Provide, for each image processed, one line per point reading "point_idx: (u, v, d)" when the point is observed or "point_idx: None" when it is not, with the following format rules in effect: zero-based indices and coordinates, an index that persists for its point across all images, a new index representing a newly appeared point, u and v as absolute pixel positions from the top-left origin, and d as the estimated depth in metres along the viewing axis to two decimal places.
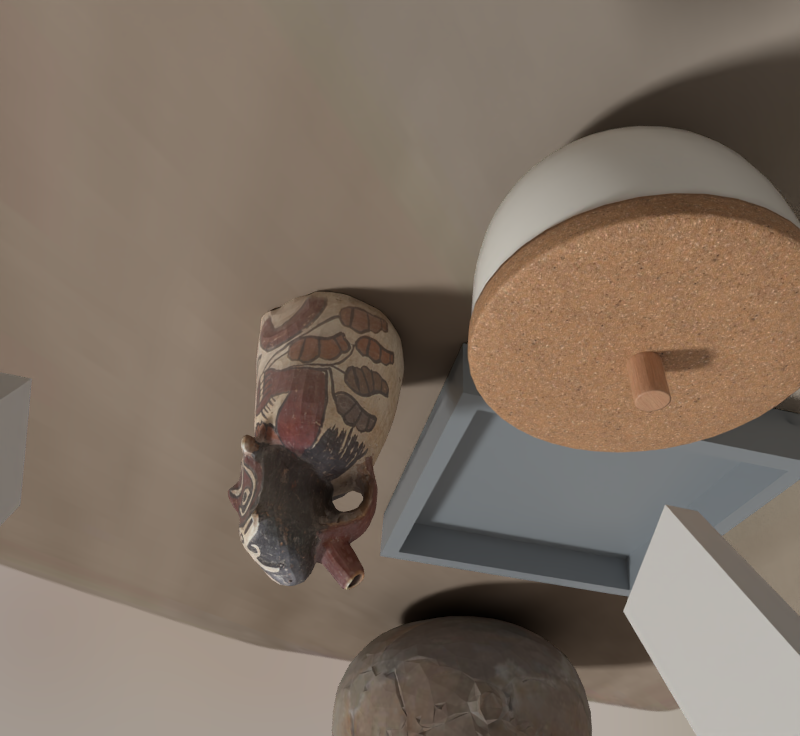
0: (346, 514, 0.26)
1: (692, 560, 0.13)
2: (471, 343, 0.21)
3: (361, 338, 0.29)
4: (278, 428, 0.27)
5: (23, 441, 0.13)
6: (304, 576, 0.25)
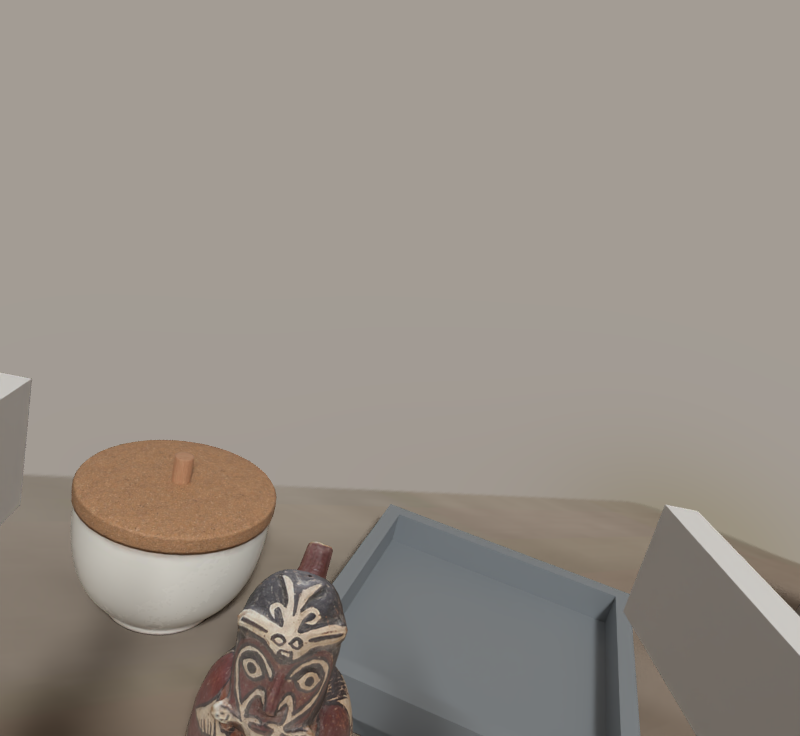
0: None
1: (692, 560, 0.13)
2: (133, 531, 0.32)
3: None
4: (216, 693, 0.25)
5: (23, 441, 0.13)
6: (314, 574, 0.26)
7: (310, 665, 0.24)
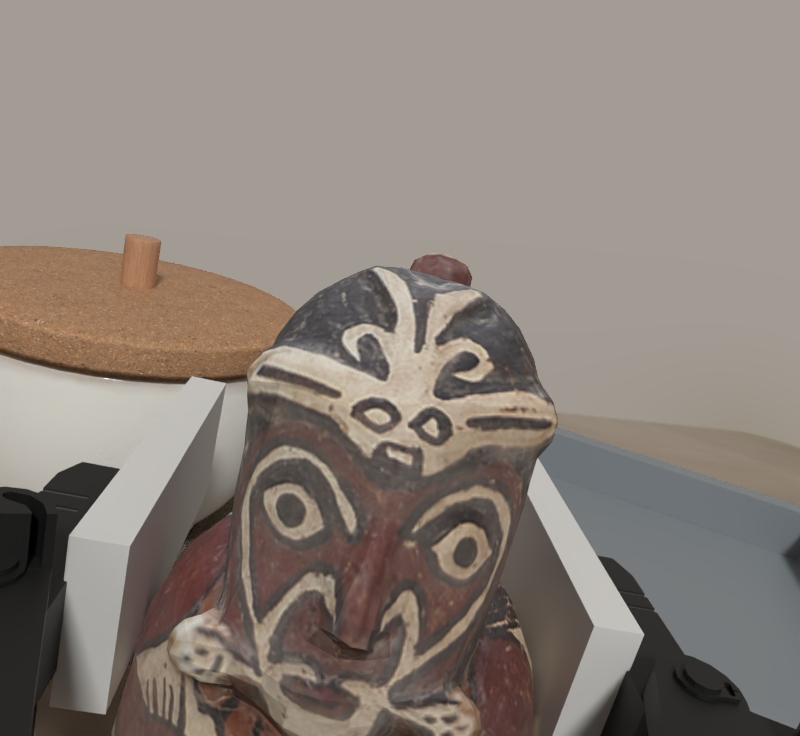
0: None
1: None
2: (31, 324, 0.16)
3: None
4: (187, 608, 0.09)
5: (216, 436, 0.15)
6: None
7: (468, 502, 0.08)
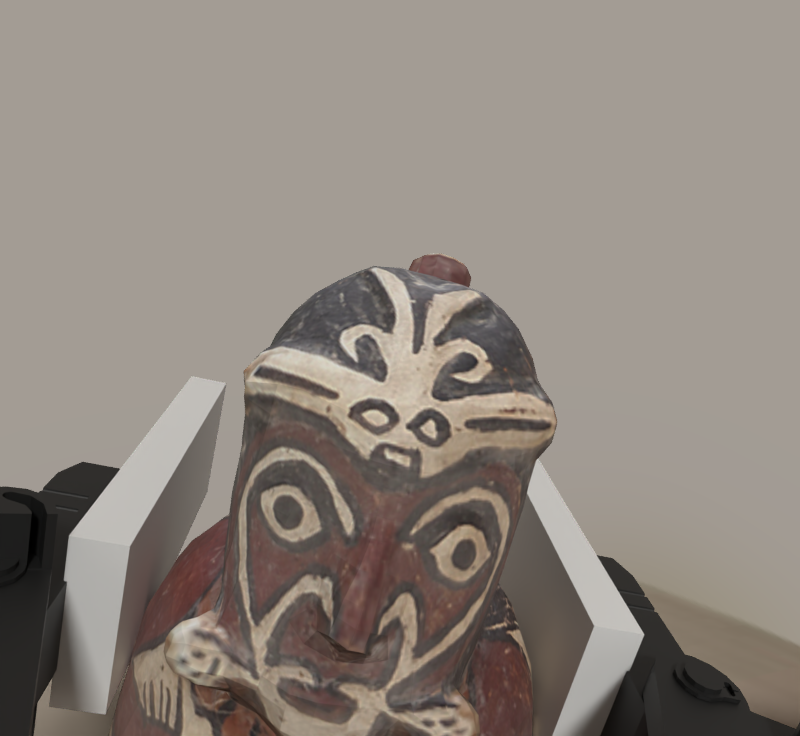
0: None
1: None
2: None
3: None
4: (184, 611, 0.09)
5: (216, 436, 0.15)
6: None
7: (467, 504, 0.08)
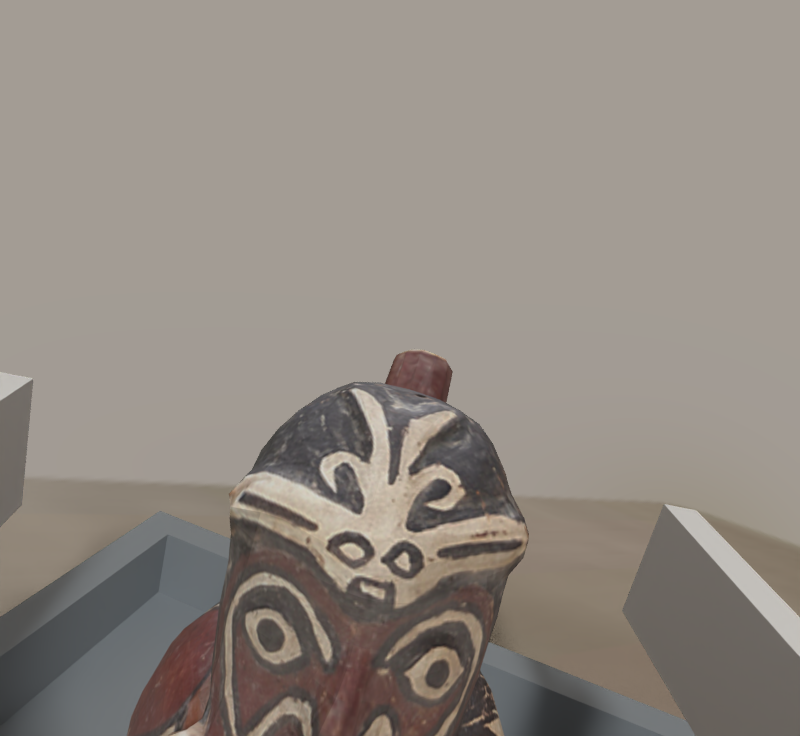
0: None
1: (691, 560, 0.13)
2: None
3: None
4: (175, 708, 0.10)
5: (24, 441, 0.13)
6: None
7: (440, 627, 0.08)
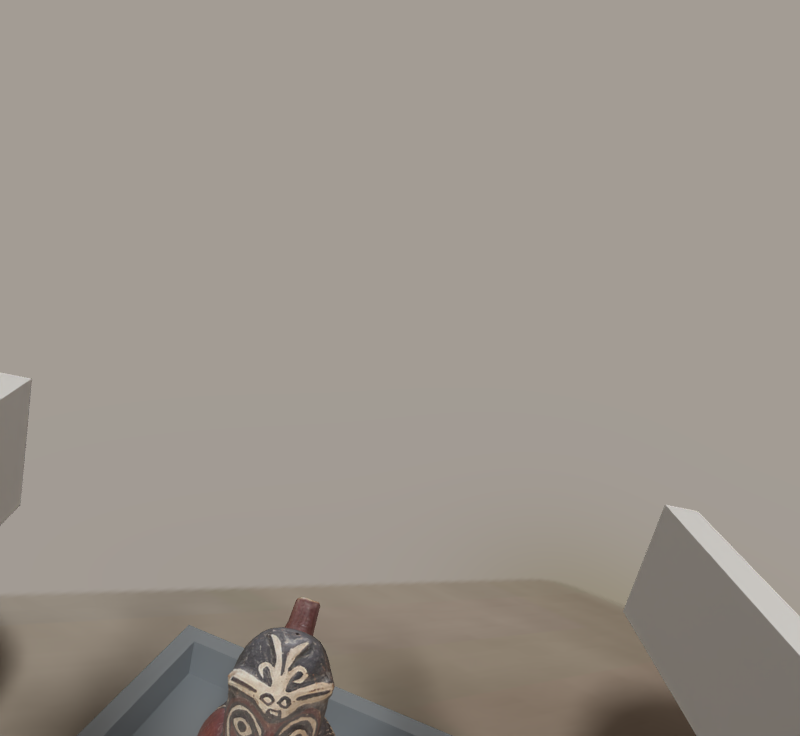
0: None
1: (692, 560, 0.13)
2: None
3: None
4: None
5: (23, 441, 0.13)
6: (301, 632, 0.27)
7: (298, 723, 0.25)
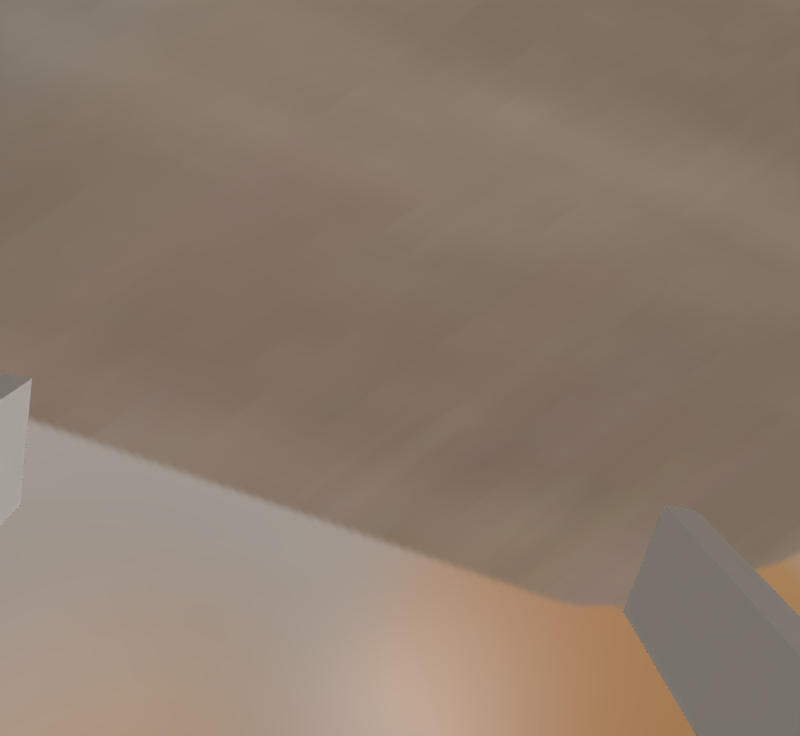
0: None
1: (692, 560, 0.13)
2: None
3: None
4: None
5: (23, 441, 0.13)
6: None
7: None
